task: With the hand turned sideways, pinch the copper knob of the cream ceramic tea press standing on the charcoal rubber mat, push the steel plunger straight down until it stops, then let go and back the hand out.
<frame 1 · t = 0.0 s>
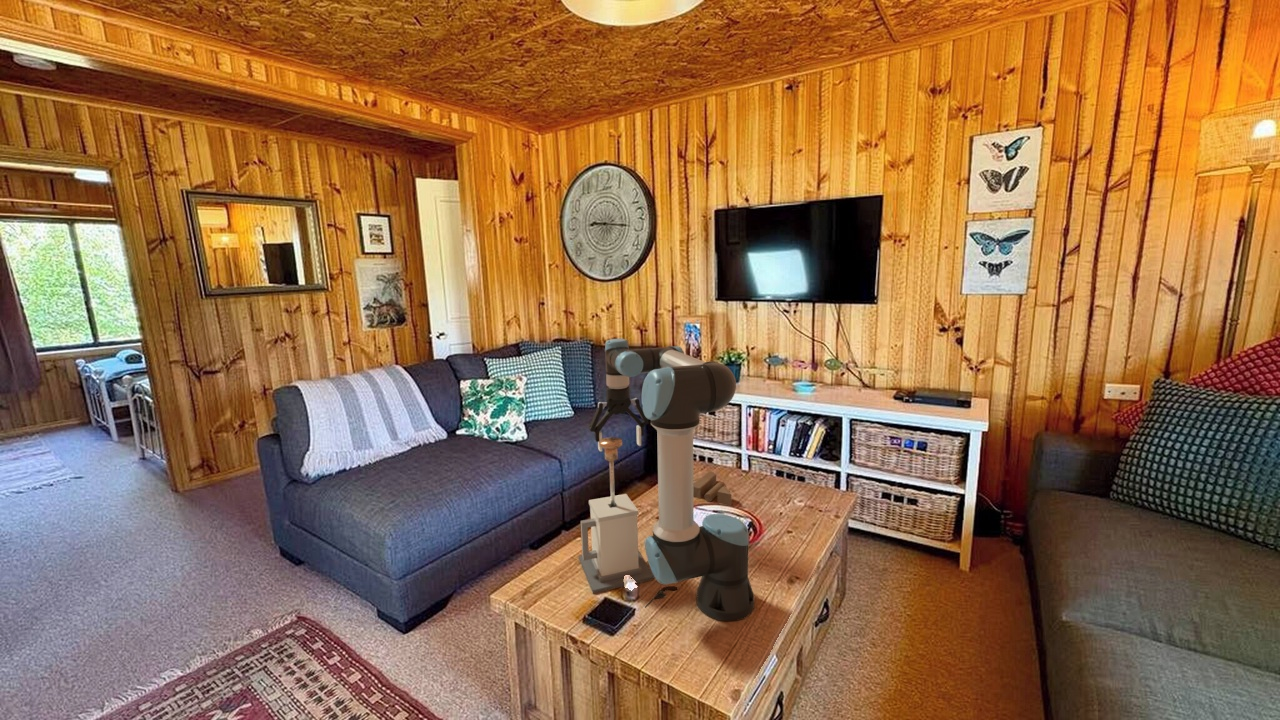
hand: (619, 447, 172), 28 cm above the table, tool pointing down, fingers open, 13 cm apart
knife: (659, 601, 137), on the table
press: (615, 565, 151), resting on mat
wooden block set: (718, 494, 200), on the table
plunger: (612, 478, 146), point 28 cm above the table, slide at 10.0 cm
mat: (615, 568, 151), on the table
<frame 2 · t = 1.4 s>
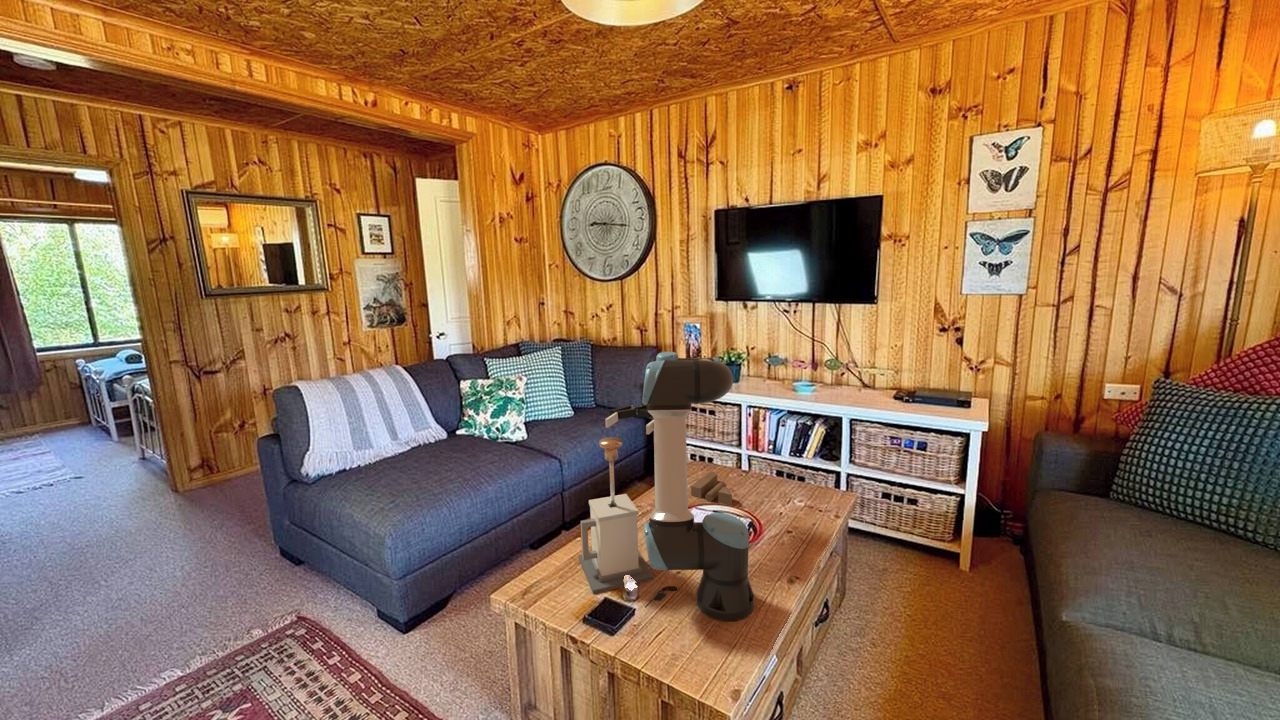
hand: (626, 426, 151), 41 cm above the table, tool horizontal, fingers open, 13 cm apart
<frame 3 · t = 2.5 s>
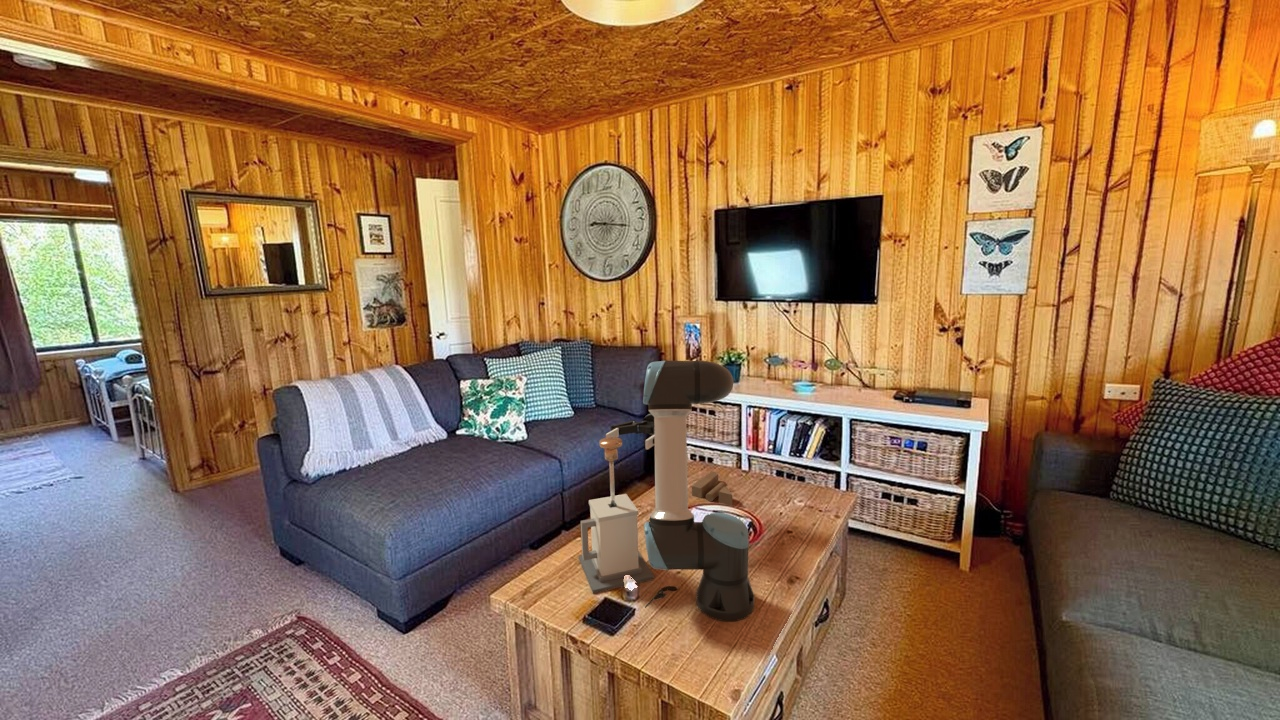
hand: (626, 441, 152), 36 cm above the table, tool horizontal, fingers open, 13 cm apart
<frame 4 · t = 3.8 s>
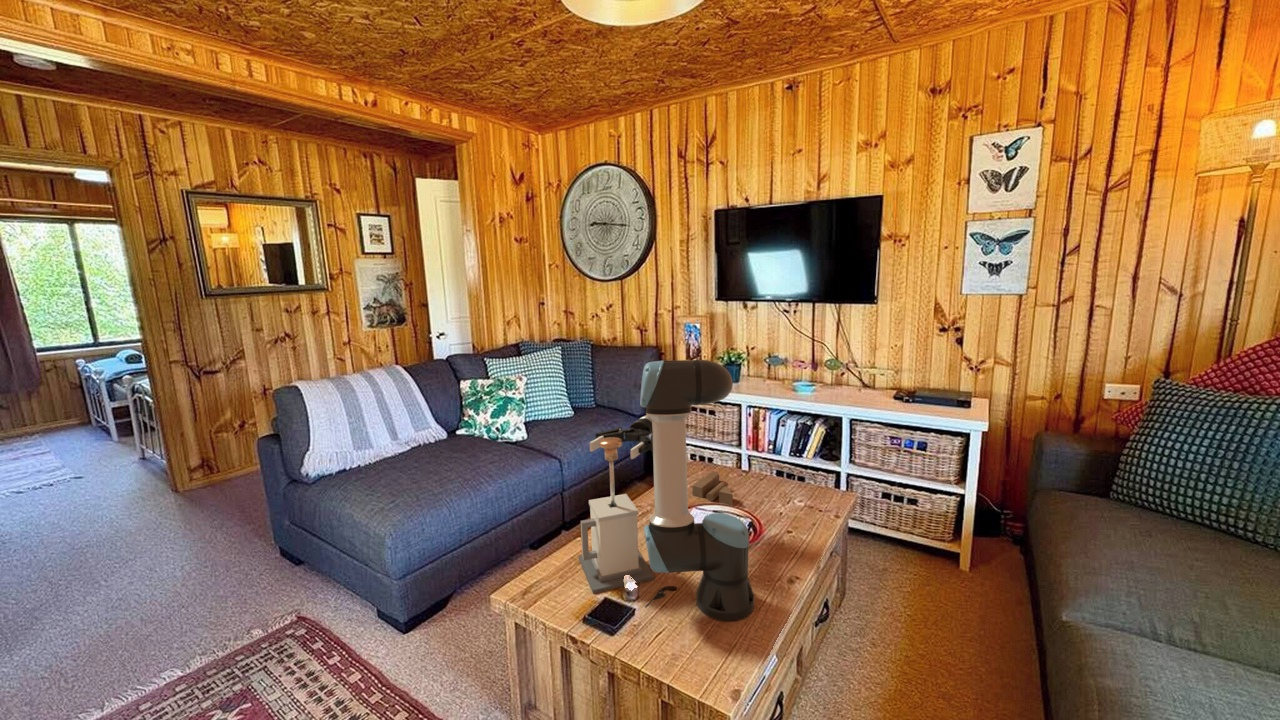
hand: (610, 450, 145), 37 cm above the table, tool horizontal, fingers open, 13 cm apart
nothing on the table moved.
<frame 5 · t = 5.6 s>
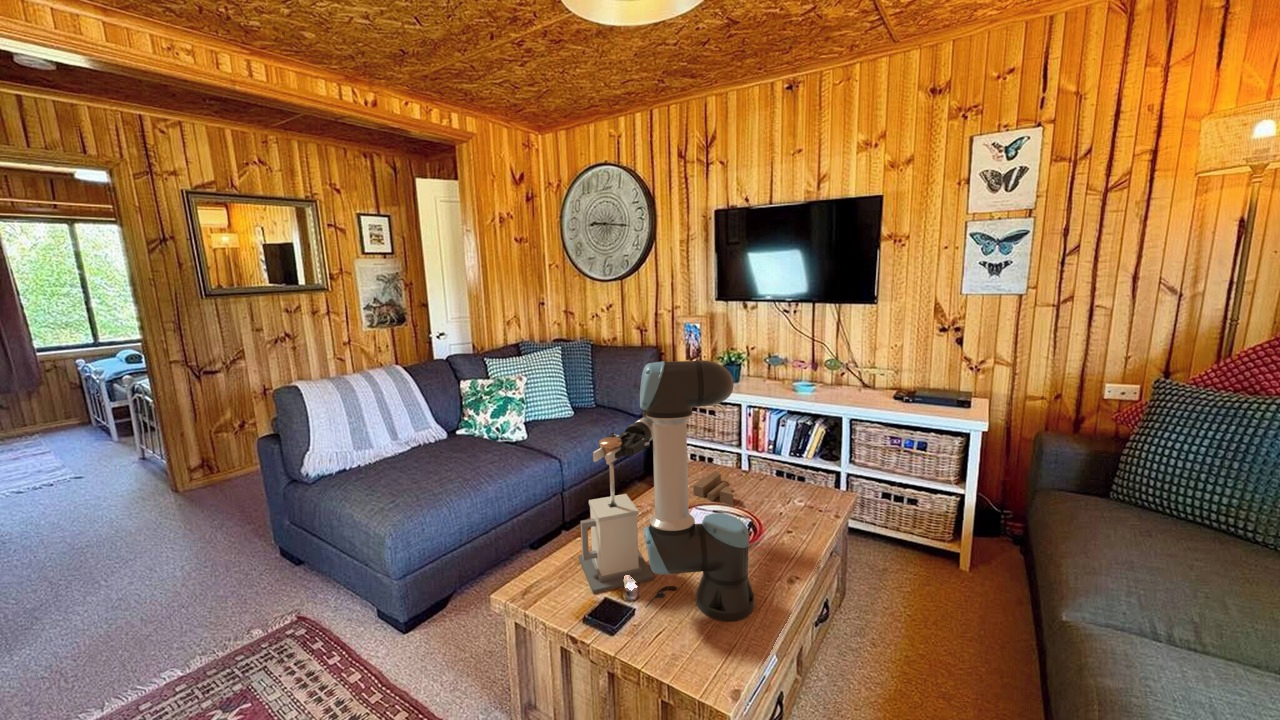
hand: (600, 458, 140), 36 cm above the table, tool horizontal, fingers closed on plunger, 4 cm apart
plunger: (612, 478, 146), point 28 cm above the table, slide at 10.0 cm, touching gripper
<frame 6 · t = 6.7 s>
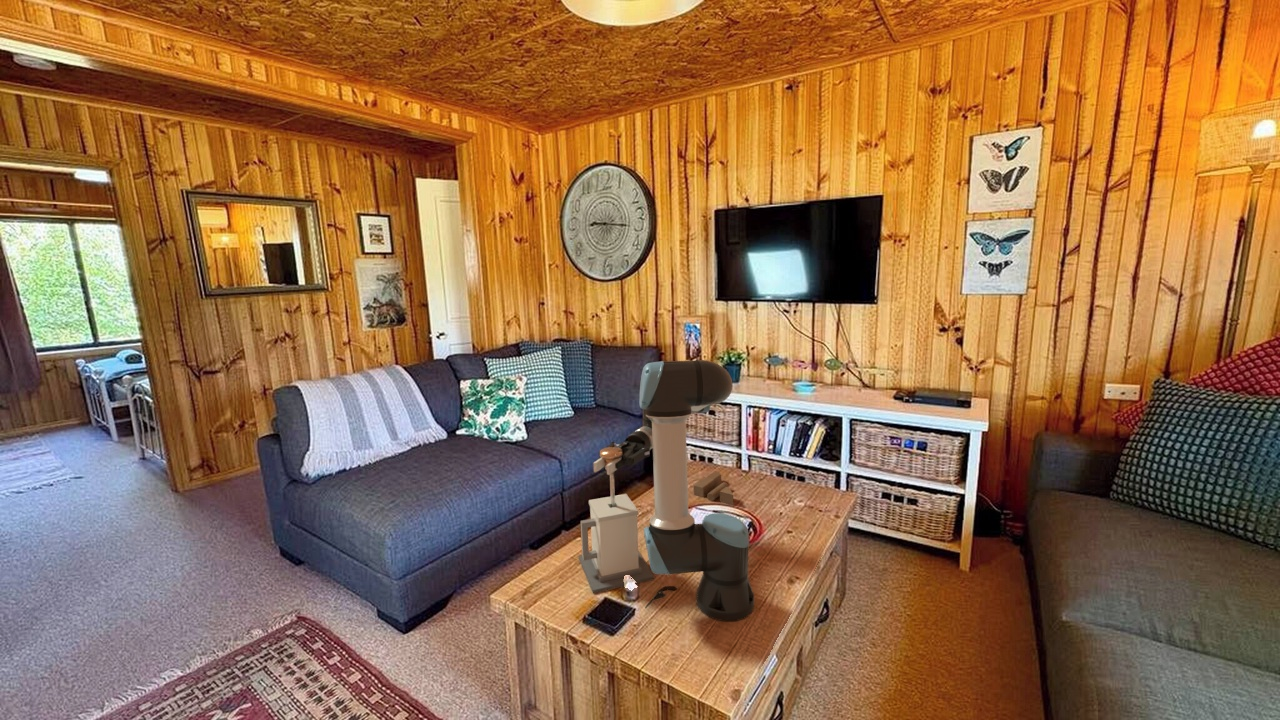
hand: (601, 468, 140), 33 cm above the table, tool horizontal, fingers closed on plunger, 4 cm apart
plunger: (612, 488, 147), point 25 cm above the table, slide at 7.0 cm, touching gripper
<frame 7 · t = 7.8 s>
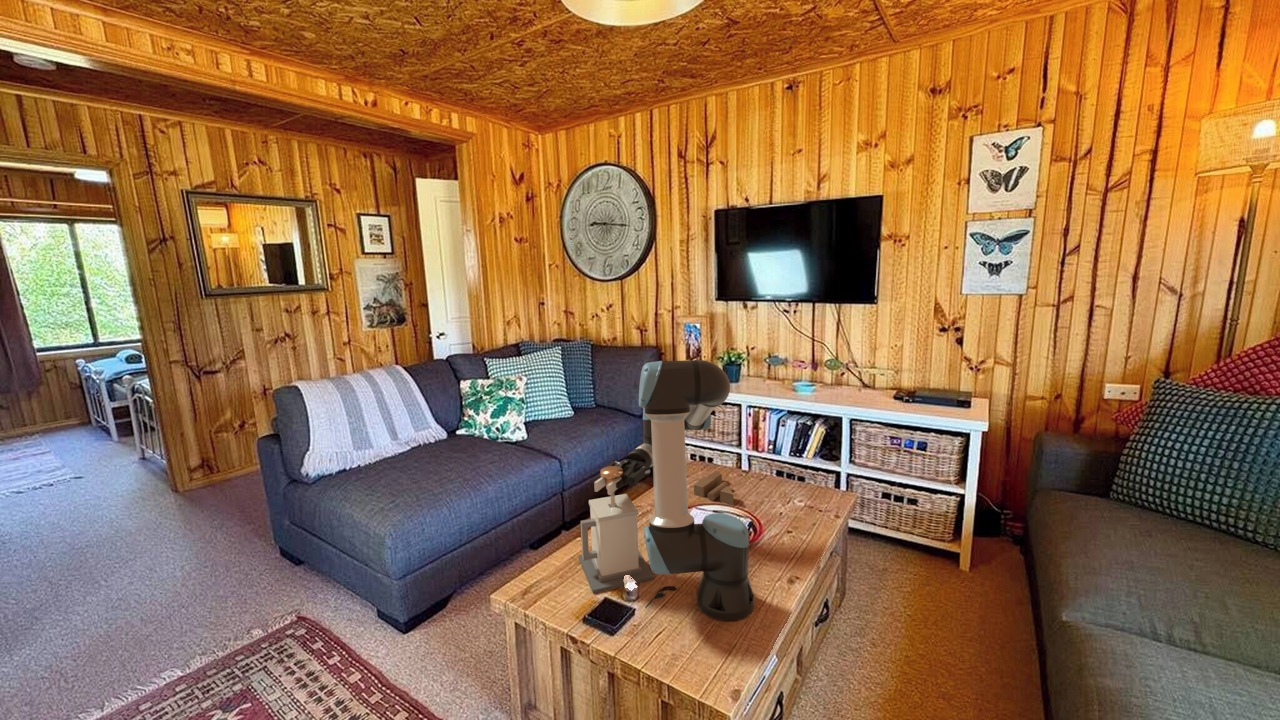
hand: (602, 488, 141), 28 cm above the table, tool horizontal, fingers closed on plunger, 4 cm apart
plunger: (613, 507, 148), point 20 cm above the table, slide at 1.2 cm, touching gripper
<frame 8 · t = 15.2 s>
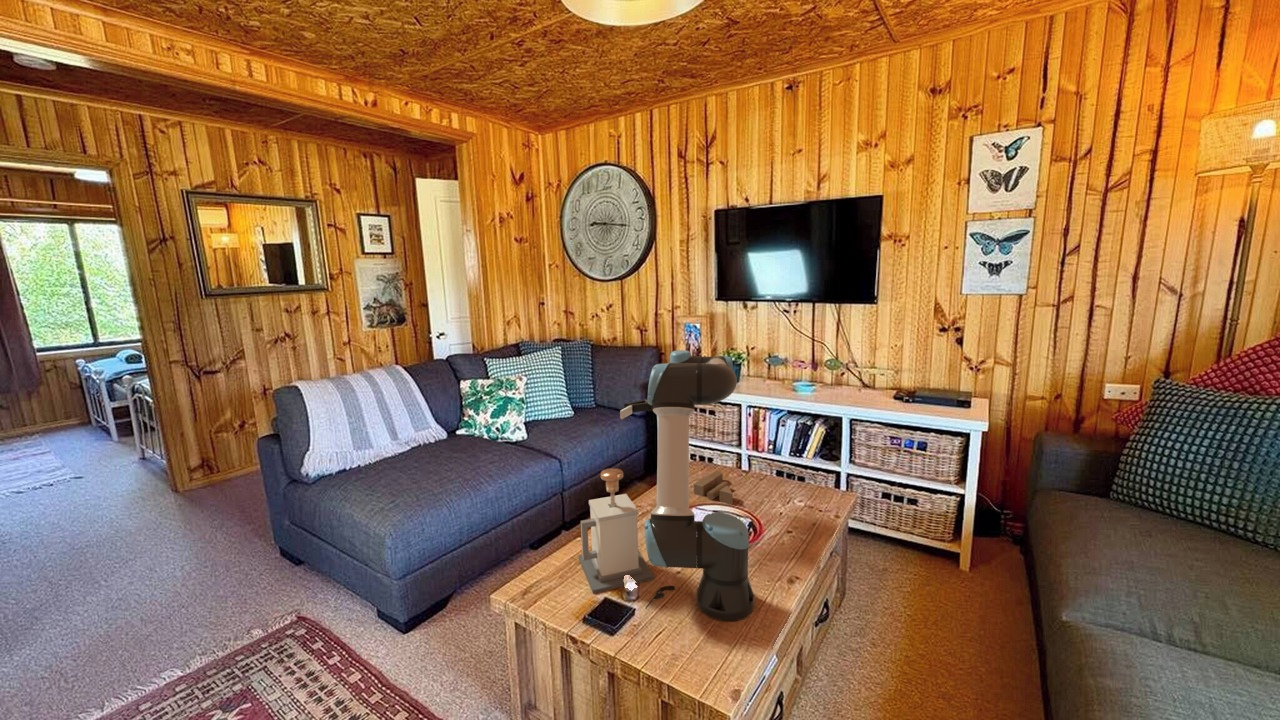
hand: (640, 417, 157), 42 cm above the table, tool horizontal, fingers open, 13 cm apart
plunger: (613, 509, 148), point 19 cm above the table, slide at 0.5 cm
at the end: plunger slide at 0.5 cm; the gripper is holding nothing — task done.
